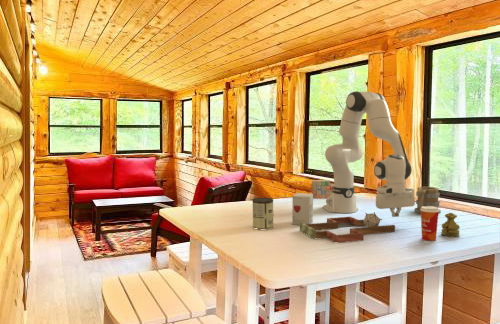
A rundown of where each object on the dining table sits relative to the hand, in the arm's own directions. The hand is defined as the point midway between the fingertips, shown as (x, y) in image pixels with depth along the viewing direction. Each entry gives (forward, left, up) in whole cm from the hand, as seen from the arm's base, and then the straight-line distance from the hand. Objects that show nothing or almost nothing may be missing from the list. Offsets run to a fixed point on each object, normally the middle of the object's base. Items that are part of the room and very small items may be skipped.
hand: (395, 216), depth 206 cm
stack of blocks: (-86, +7, -6) cm, 86 cm away
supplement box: (-22, -39, -6) cm, 45 cm away
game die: (0, -13, -6) cm, 14 cm away
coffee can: (-20, -61, -6) cm, 65 cm away
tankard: (-23, +36, -6) cm, 43 cm away
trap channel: (0, -26, -5) cm, 27 cm away
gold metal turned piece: (+20, +15, -6) cm, 25 cm away
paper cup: (+23, +1, -6) cm, 24 cm away
